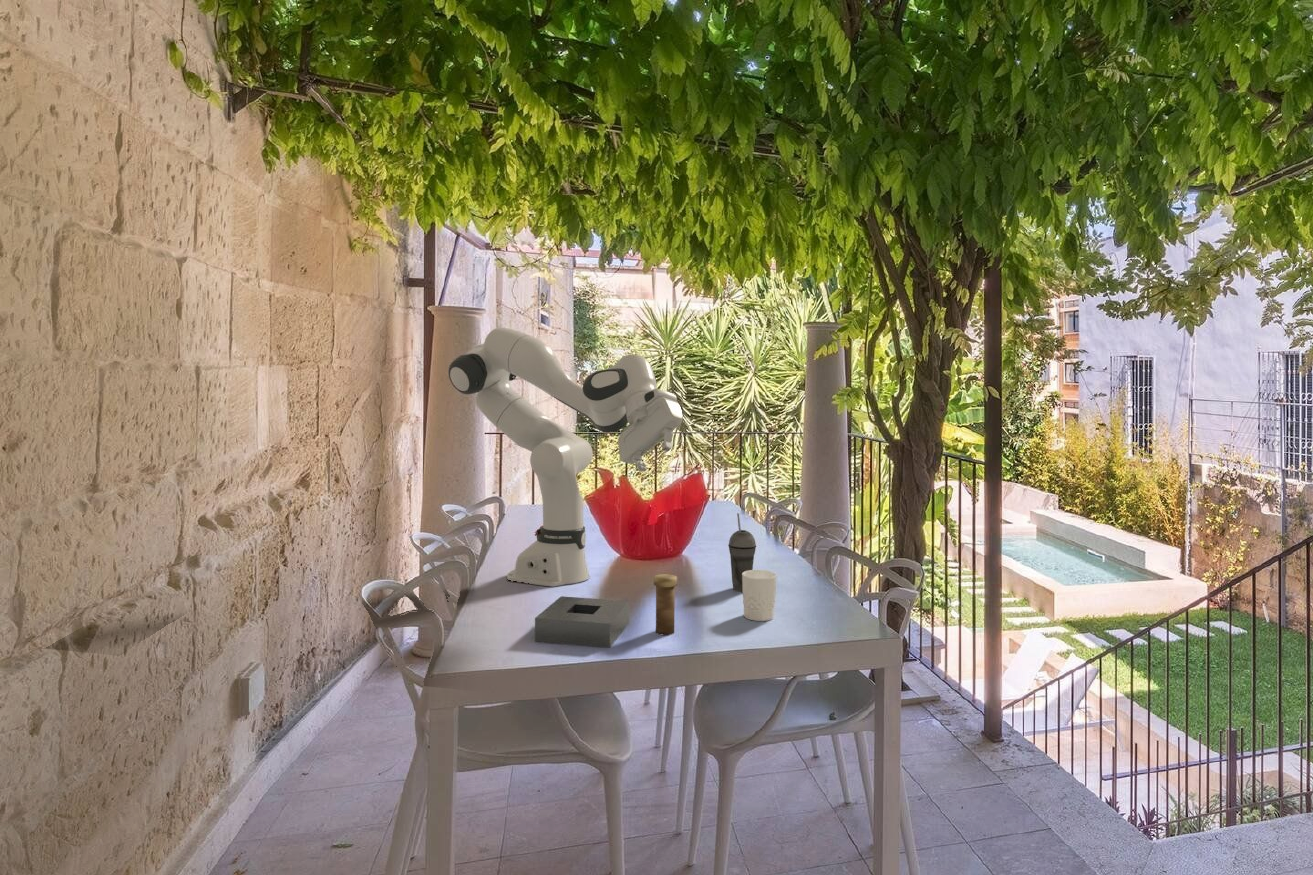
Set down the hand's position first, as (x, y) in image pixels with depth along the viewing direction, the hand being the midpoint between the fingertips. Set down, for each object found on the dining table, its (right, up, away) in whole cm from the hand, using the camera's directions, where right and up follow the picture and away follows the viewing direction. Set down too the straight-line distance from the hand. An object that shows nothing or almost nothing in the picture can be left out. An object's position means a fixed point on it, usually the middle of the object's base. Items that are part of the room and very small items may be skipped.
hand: (654, 459), depth 168 cm
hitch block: (-15, -37, -11) cm, 41 cm away
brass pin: (+2, -37, -11) cm, 38 cm away
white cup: (+24, -36, 0) cm, 43 cm away
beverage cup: (+23, -35, +22) cm, 47 cm away
